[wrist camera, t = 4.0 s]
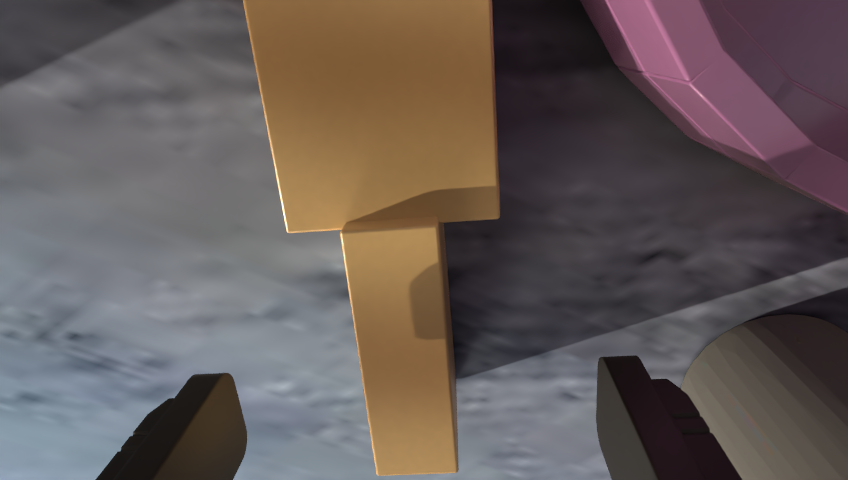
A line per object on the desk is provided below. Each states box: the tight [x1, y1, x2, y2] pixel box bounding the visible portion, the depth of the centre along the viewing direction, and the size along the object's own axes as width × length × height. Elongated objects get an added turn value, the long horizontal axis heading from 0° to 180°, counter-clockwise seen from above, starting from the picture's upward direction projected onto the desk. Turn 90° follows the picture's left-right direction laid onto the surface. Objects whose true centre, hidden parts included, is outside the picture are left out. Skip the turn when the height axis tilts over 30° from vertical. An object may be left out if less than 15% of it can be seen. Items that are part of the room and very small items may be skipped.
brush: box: [243, 0, 500, 476], centre depth 14 cm, size 12×5×4 cm, turn 5°
